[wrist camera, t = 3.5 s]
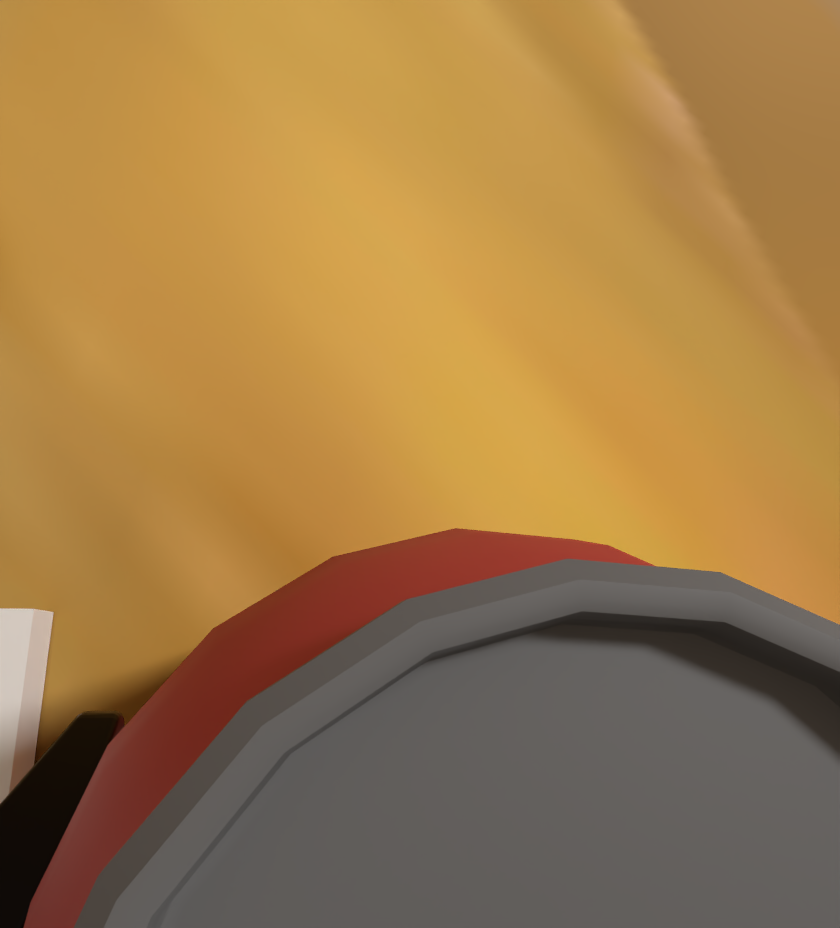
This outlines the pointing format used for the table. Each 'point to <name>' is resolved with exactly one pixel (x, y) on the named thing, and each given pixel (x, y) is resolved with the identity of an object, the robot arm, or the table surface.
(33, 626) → the paper card
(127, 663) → the table surface
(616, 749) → the beer can
